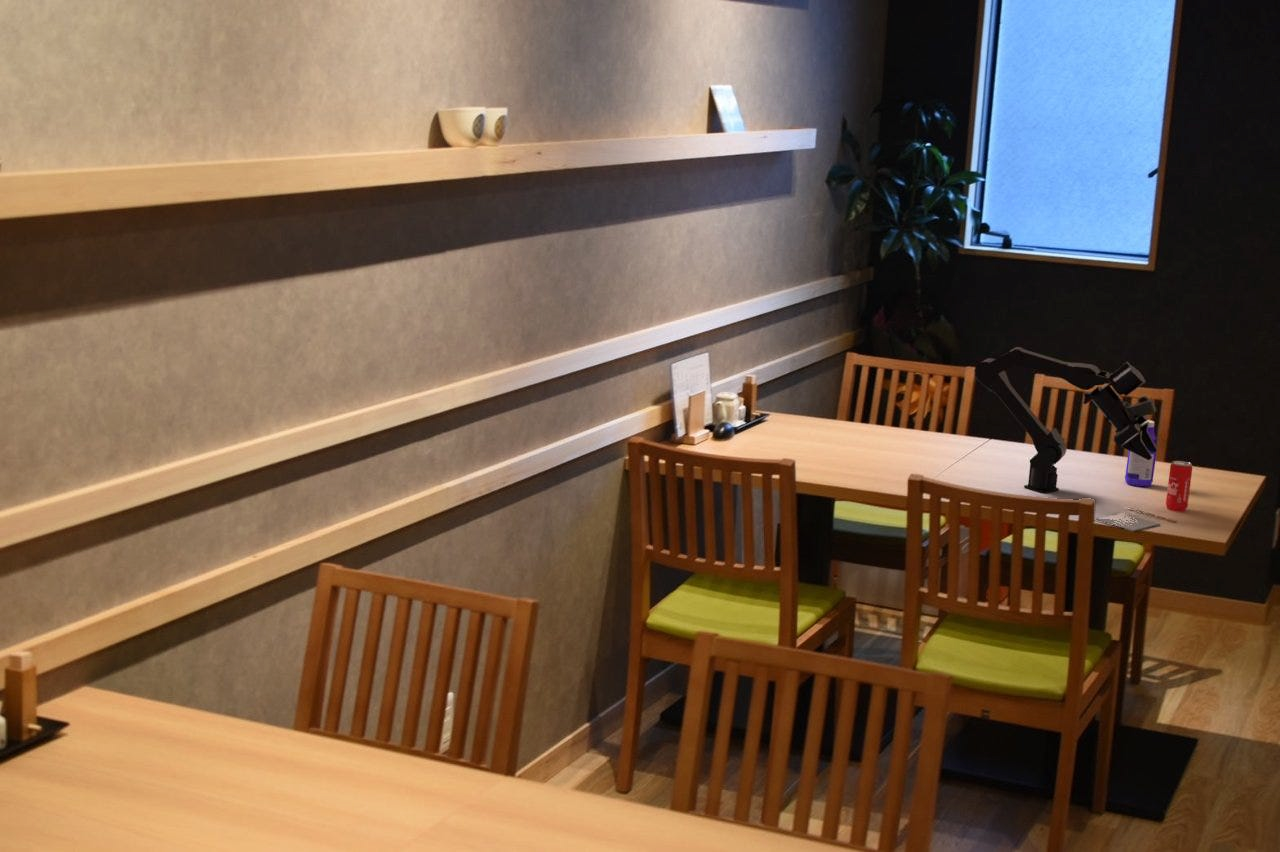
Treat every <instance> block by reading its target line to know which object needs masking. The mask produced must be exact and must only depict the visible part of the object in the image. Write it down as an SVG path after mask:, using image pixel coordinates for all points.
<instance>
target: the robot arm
mask: <svg viewBox="0 0 1280 852" xmlns="http://www.w3.org/2000/svg"><path fill="white" fill-rule="evenodd" d="M1016 365H1018V366H1022V367H1025V368H1029V369H1031V370H1035V371H1039V372H1041V373H1045V374H1049V375H1052V376H1055V377H1059V378H1060V379H1063V380H1064V381H1066V382H1067V383H1069V385H1072V386H1074V387H1076V388H1078V389H1080V390H1082V391H1083V390H1084V391H1085V392H1084V393H1083V396H1084V397H1083V398H1084V399H1083V403H1082V404H1083V405H1087V404H1088V403H1089V402H1090V401H1092V403H1094V405H1095V406H1096V407H1097V408H1098V409H1099V410H1100V412H1101V414H1103V416H1104V419H1105V422H1109V423H1110V424H1111V425H1112V426H1113V428H1114V429H1115V435H1114V436H1113V442H1114V443H1115V444H1116V445H1117V447H1120V448H1122V449H1125V450H1127V451H1128V452H1129V451H1131V452H1133V453H1135V454H1137V455H1139V456H1141V457H1143V458H1145V459H1147V460H1150V459H1151V458H1152V456H1151V455H1150V453H1149V451H1151V452H1153V453H1155V452H1156V451H1158V449H1156V448H1157V446H1156V447H1155V445H1156V444H1155V445H1154V443H1153V441H1152V439H1151V437H1150V435H1149V432H1148V424H1149V421H1148V422H1147V423H1145V424H1143V423H1144V422H1146V421H1147V420H1149V417H1148V416H1150V415H1151V416H1152V415H1153V414H1155V413H1156V412H1157V408H1156V406H1155V401H1154V399H1153V398H1149V397H1148V396H1147V395H1144V396H1141V397H1140V398H1139V399H1138V402H1136V403H1134V404H1131V405H1130V403H1129V402H1127V401H1123V399H1121V397H1120V396H1123V395H1124V396H1126V397H1127V396H1129V395H1130V394H1131V393H1133V392H1134V391H1135V390H1137V389H1138V388H1139V387H1141V386H1142V385H1143V384H1145V383H1146V380H1145V378H1144V376H1143V374H1142V373H1141V372H1140V371H1139V370H1138V369H1136V368H1135V367H1134V365H1131V364H1130V363H1129V361H1126V362H1124V363H1123V364H1122V365H1121V366H1120V367H1119V368H1118V369H1117V370H1115V371H1114V372H1109V371H1104V370H1100V368H1099V367H1098V366H1096V365H1095V364H1089V363H1083V362H1069V361H1064V360H1060V359H1057V358H1054V357H1051V356H1047V355H1044V354H1040V353H1037V352H1034V351H1030V350H1027V349H1025V348H1023V347H1021V346H1020V347H1019V346H1017V347H1016V346H1015V347H1014V348H1012V349H1011V350H1009V351H1008V352H1007V353H1004V354H1003V355H1001V356H999V357H996V358H990V357H989V358H986V359H984V360H983V361H981V362H980V363H978V364H977V365H976V367H975V369H974V376H975V377H974V378H976V380H977V381H978V382H979V383H980V384H981V385H983V387H985V388H986V389H988V390H989V391H991V392H992V393H994V394H995V395H996V396H997V397H998V398H999V399H1000V401H1001V402H1002V403H1003V404H1004V406H1005V407H1006V408H1007V409H1008V410H1009V412H1010V413H1011V415H1013V416H1014V418H1015V419H1016V421H1018V423H1019V424H1020V425H1021V427H1022V428H1023V429H1024V430H1025V432H1026V433H1027V434H1028V435H1029V437H1030V438H1031V441H1032V443H1033V446H1034V448H1035V450H1036V454H1035V455H1034V456H1032V458H1030V459H1029V473H1028V481H1027V482H1028V483H1027V484H1026V485H1025V484H1024V485H1023V488H1025V489H1029V490H1032V491H1036V492H1039V493H1044V494H1045V493H1051V492H1054V491H1059V489H1060V488H1059V487H1057V483H1058V472H1057V470H1058V467H1056V464H1057V463H1058V462H1060V460H1061V459H1062V458H1063V457H1064V456H1065V455H1066V454H1067V450H1068V449H1067V447H1068V446H1067V444H1066V442H1065V441H1066V440H1067V439H1066V438H1065V437H1063V436H1061V434H1060V433H1059V431H1058V430H1057V427H1054V428H1053V429H1052V430H1050V429H1049V428H1047V427H1046V426H1045V425H1044V424H1043V423H1042V422H1041V420H1040V419H1039V418H1038V417H1037V415H1036V414H1035V413H1034V412H1033V411H1032V410H1031V408H1030V407H1029V406H1028V405H1027V403H1026V402H1025V401H1024V400H1023V398H1022V397H1021V396H1020V395H1019V393H1018V392H1017V391H1016V389H1015V388H1014V387H1013V386H1012V384H1011V382H1010V381H1009V378H1008V375H1007V372H1006V370H1007V369H1010V368H1011V367H1013V366H1016ZM1108 381H1109V383H1108ZM1106 383H1108V384H1107V385H1105V384H1106ZM1103 385H1105V386H1104V387H1102V386H1103ZM1095 386H1097V387H1096V388H1095ZM1093 388H1095V389H1093ZM1090 389H1093V390H1092V391H1090V392H1087V391H1089V390H1090ZM1148 450H1149V451H1148ZM1156 453H1157V452H1156Z"/></svg>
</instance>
